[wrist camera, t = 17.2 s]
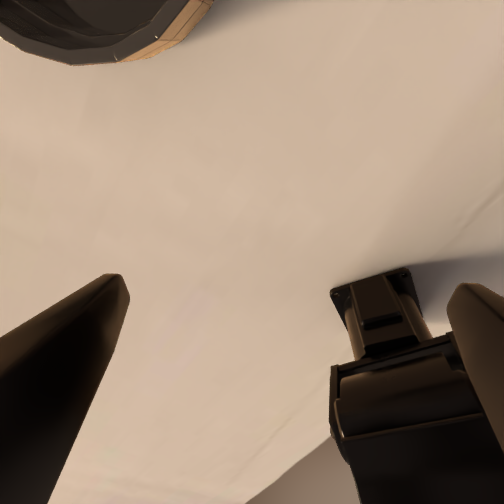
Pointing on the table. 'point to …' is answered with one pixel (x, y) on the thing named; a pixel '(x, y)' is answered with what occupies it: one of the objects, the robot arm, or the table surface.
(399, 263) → the table surface
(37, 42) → the pan
